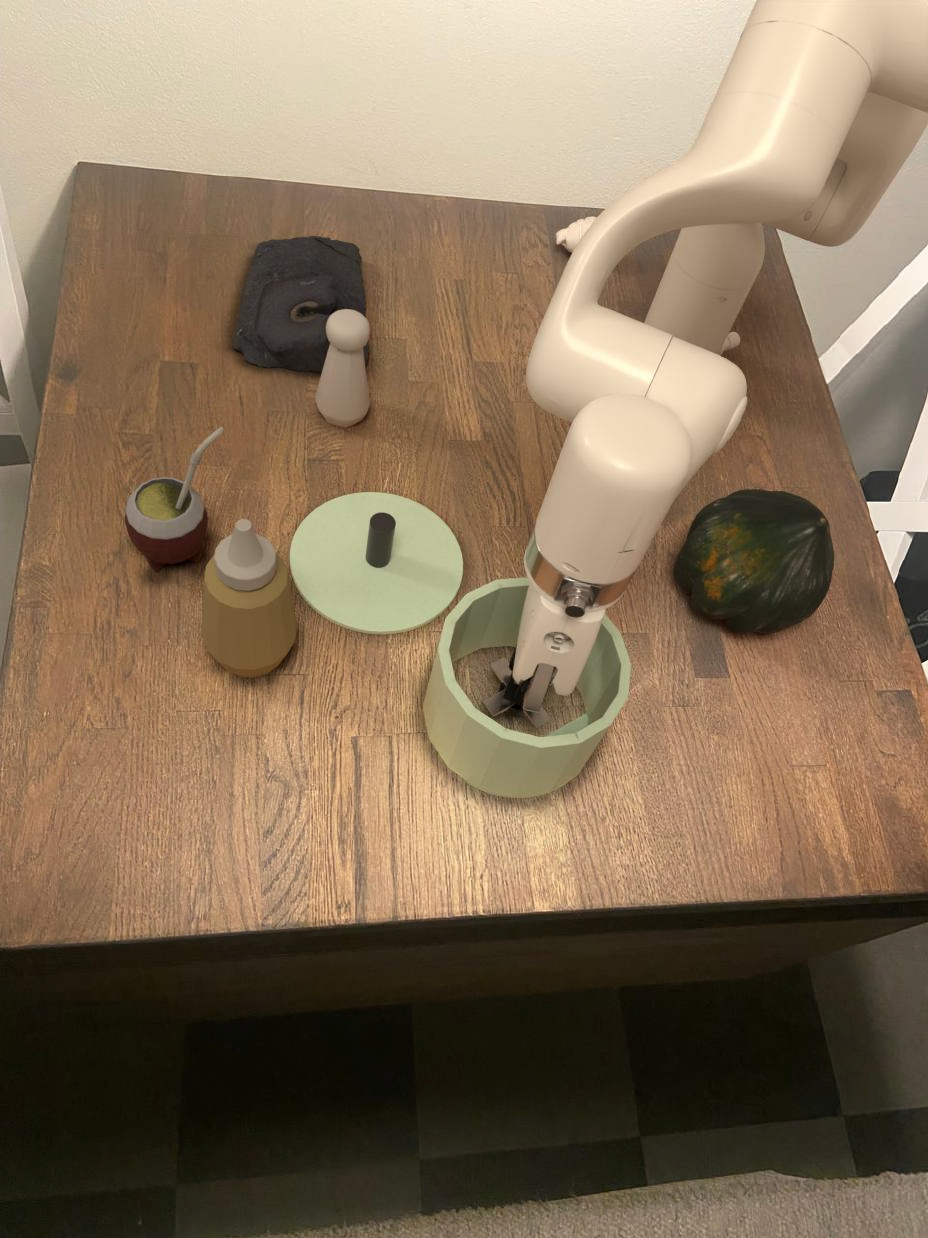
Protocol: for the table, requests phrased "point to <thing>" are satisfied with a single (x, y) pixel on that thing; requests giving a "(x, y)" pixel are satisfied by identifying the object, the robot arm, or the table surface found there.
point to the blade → (499, 704)
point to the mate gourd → (169, 517)
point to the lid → (376, 563)
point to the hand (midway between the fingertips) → (524, 684)
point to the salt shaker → (344, 370)
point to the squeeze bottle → (247, 604)
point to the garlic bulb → (573, 233)
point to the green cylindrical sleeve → (488, 747)
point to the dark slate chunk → (297, 301)
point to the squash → (757, 560)
